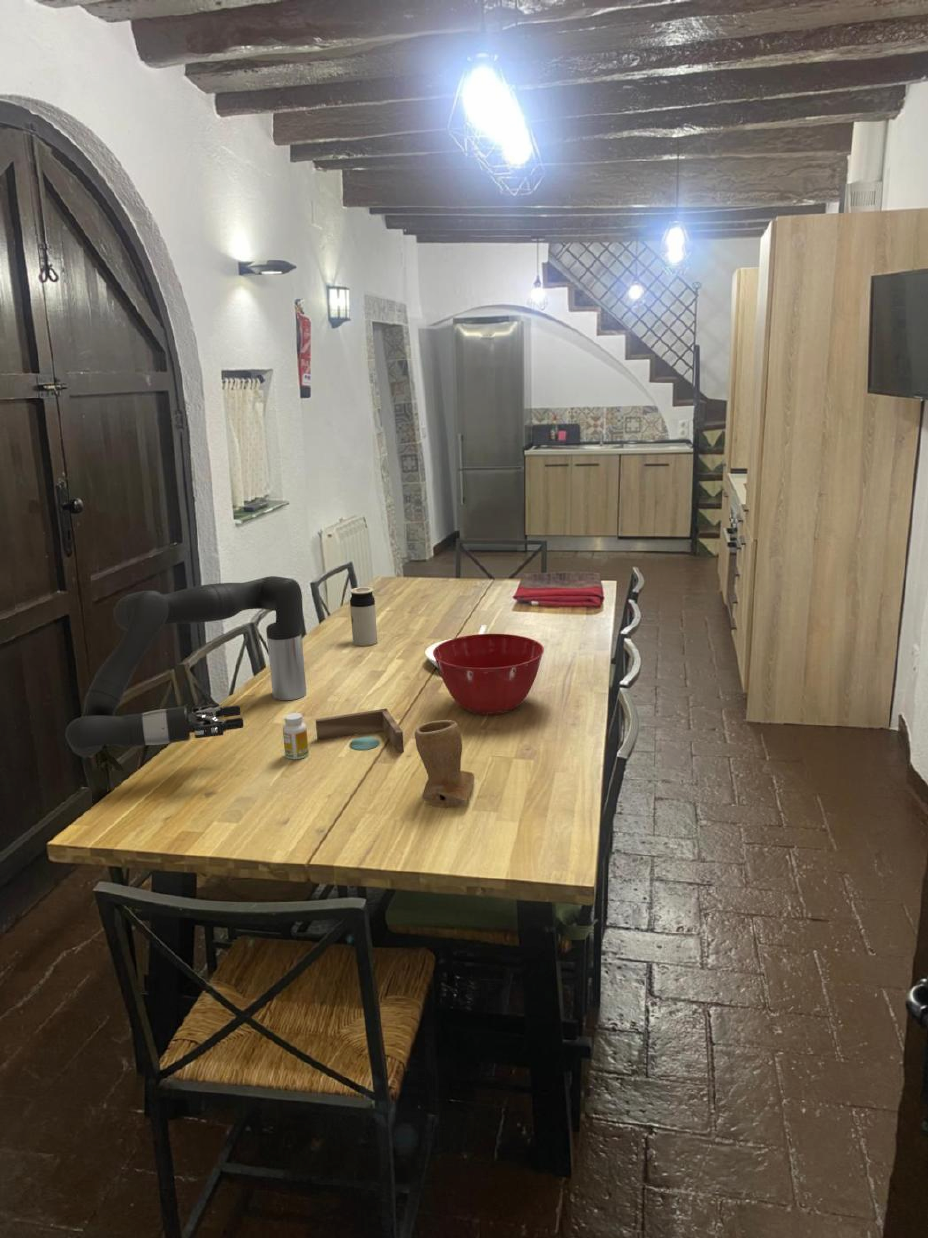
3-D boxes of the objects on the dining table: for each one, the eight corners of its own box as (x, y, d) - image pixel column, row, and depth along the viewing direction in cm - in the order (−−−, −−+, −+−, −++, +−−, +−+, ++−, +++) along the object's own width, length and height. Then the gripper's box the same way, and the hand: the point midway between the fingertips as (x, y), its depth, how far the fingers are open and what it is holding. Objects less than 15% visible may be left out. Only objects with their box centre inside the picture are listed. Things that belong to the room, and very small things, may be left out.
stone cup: (424, 776, 194) (421, 711, 190) (479, 778, 192) (476, 713, 188) (408, 809, 180) (404, 739, 176) (466, 812, 178) (463, 742, 174)
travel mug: (379, 639, 296) (376, 586, 291) (374, 646, 289) (371, 592, 284) (355, 639, 297) (352, 586, 292) (350, 646, 289) (346, 592, 285)
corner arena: (317, 738, 217) (315, 719, 215) (387, 727, 222) (386, 708, 220) (328, 764, 202) (327, 743, 201) (403, 751, 207) (402, 731, 206)
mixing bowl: (537, 728, 218) (536, 668, 214) (424, 723, 223) (420, 664, 219) (550, 688, 244) (549, 634, 240) (448, 685, 250) (446, 632, 246)
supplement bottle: (310, 750, 210) (306, 711, 208) (307, 759, 205) (303, 719, 202) (287, 751, 210) (283, 712, 207) (283, 760, 205) (279, 721, 202)
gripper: (164, 721, 189) (242, 710, 193) (164, 699, 202) (237, 690, 207) (168, 754, 190) (246, 743, 195) (167, 731, 204) (240, 721, 208)
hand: (241, 716), depth 201 cm, fingers open, 8 cm apart
